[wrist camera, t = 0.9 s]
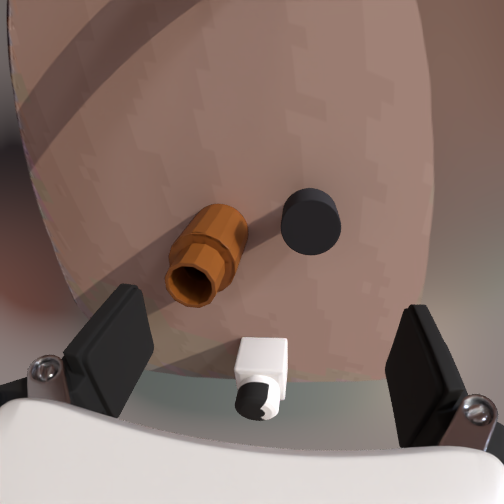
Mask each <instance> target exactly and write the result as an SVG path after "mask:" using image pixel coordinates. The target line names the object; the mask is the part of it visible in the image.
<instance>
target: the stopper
mask: <svg viewBox="0 0 504 504" xmlns="http://www.w3.org/2000/svg"><path fill="white" fill-rule="evenodd" d="M340 232H341V222H340V218H339V215H338V211H337V208H336V205H335V203H334V201H333V200H332V198H331V197H330V196H329V195H328V194H326V193H325V192H323V191H321V190H318V189H313V188H307V189H302V190H299V191H297V192H295V193H293V194H292V195H291V196H290V197H289V198H288V199H287V201H286V203H285V205H284V208H283V214H282V221H281V233H282V236H283V239H284V241H285V242H286V244H287V245H288V246H289V247H290V248H291V249H293V250H294V251H296V252H298V253H301V254H304V255H318V254H321V253H324V252H326V251H328V250H329V249H330V248H332V247H333V246H334V245H335V243H336V242H337V240H338V238H339V236H340Z"/></svg>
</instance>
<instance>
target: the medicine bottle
mask: <svg viewBox="0 0 504 504" xmlns="http://www.w3.org/2000/svg"><path fill="white" fill-rule="evenodd" d="M287 368H288V367H287V339H286V338H256V337H242V338H241V342H240V346H239V350H238V354H237V358H236V363H235V367H234V373H235V378H236V384H237V389H238V393H237V397H236V402H235V408H236V410H237V412H238V413H239V414H240V415H241V416H243V417H245V418H247V419H251V420H256V421H257V420H258V421H263V420H268V419H271V418H273V417H274V416H275V415H277V413H278V411H279V401H280V400H284V399H285V392H286V381H287Z"/></svg>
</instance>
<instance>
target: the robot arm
mask: <svg viewBox="0 0 504 504" xmlns="http://www.w3.org/2000/svg"><path fill="white" fill-rule="evenodd" d="M153 350H154V344H153V339H152V335H151V331H150V327H149V322H148V318H147V313H146V309H145V304H144V299H143V294H142V291H141V290H140V289H138V287H137V286H136V285H131V284H120V285H119V286H118V288H117V289H116V290H115V291H114V292H113V293H112V294H111V295H110V297H109V298H108V299H107V300H106V301H105V302H104V303H103V305H102V306H101V307H100V308H99V309H98V310H97V312H96V313H95V314H94V315H93V316H92V318H91V319H90V320H89V321H88V322H87V324H86V325H85V326H84V327H83V328H82V330H81V331H80V332H79V333H78V334H77V336H76V337H75V338H74V339H73V341H72V342H71V343H70V344H69V345H68V347H67V348H66V349H65V350H64V352H63V353H64V356H63V358H62V359H60V358H59V357H57V356H55V355H45V356H42V357H39V358H37V359H36V360H34V361H33V362H32V364H30V366H29V368H28V371H27V377H25V378H22V379H19V380H16V381H13V382H10V383H6V384H3V385H0V504H504V426H503V425H502V424H500V423H498V422H497V419H498V411H497V408H496V406H495V404H494V403H493V402H492V401H491V400H490V399H489V398H487V397H486V396H483V395H480V394H472V395H468V393H467V391H466V389H465V386H464V383H463V381H462V379H461V377H460V374H459V371H458V369H457V367H456V365H455V362H454V360H453V358H452V356H451V353H450V351H449V349H448V347H447V345H446V343H445V342H444V340H443V338H442V336H441V334H440V332H439V330H438V328H437V326H436V324H435V322H434V320H433V318H432V316H431V314H430V312H429V310H428V308H427V307H426V305H412V304H411V305H410V306H409V307H408V309H404V311H403V314H402V317H401V321H400V324H399V327H398V330H397V333H396V336H395V339H394V342H393V345H392V348H391V351H390V354H389V357H388V359H387V362H386V366H385V374H386V379H387V383H388V388H389V392H390V397H391V402H392V407H393V412H394V418H395V423H396V428H397V434H398V440H399V445H400V447H401V448H398V449H382V450H381V449H380V450H346V451H345V450H340V451H338V450H335V451H334V450H331V451H330V450H326V451H325V450H300V449H284V448H271V447H261V446H251V445H243V444H235V443H227V442H220V441H214V440H209V439H203V438H197V437H192V436H187V435H182V434H177V433H172V432H168V431H163V430H159V429H154V428H150V427H146V426H142V425H139V424H135V423H131V422H127V421H124V420H121V419H117V418H118V417H119V415H120V414H121V412H122V410H123V408H124V406H125V404H126V402H127V400H128V398H129V396H130V394H131V393H132V391H133V389H134V387H135V385H136V383H137V381H138V379H139V378H140V376H141V374H142V372H143V370H144V368H145V366H146V365H147V363H148V361H149V359H150V357H151V355H152V353H153Z"/></svg>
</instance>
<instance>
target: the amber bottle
mask: <svg viewBox="0 0 504 504" xmlns="http://www.w3.org/2000/svg"><path fill="white" fill-rule="evenodd" d="M247 239H248V227H247V223H246V221H245V219H244V217H243V216H242V215H241V214H240V213H239V212H238V211H237V210H236V209H234V208H232V207H230V206H228V205H224V204H213V205H209V206H207V207H205V208H203V209H202V210H201V211H200V212H199V213H198V214H197V215H196V216H195V217H194V219H193V220H192V221H191V222H190V224H189V225H188V226H187V227H186V228H185V230H184V231H183V232H182V234H181V235H180V236H179V237H178V239H177V240H176V241H175V242H174V244H173V245H172V247H171V250H170V254H169V263H170V268H169V269H168V271H167V274H166V276H165V284H166V289H167V291H168V292H169V293H170V295H171V296H172V297H173V299H174V300H175V301H177V302H179V303H181V304H183V305H184V306H187V307H195V308H200V307H203V306H205V305H208V304H210V303H211V302H212V300H213V298H214V297H215V295H216V293H217V292H220V291H222V290H224V289H225V288H226V287H227V286H229V285H230V284H231V282H232V280H233V278H234V276H235V273H236V271H237V268H238V265H239V262H240V259H241V256H242V253H243V251H244V248H245V245H246V242H247Z"/></svg>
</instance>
